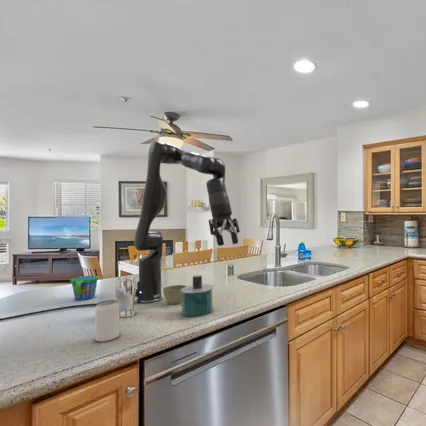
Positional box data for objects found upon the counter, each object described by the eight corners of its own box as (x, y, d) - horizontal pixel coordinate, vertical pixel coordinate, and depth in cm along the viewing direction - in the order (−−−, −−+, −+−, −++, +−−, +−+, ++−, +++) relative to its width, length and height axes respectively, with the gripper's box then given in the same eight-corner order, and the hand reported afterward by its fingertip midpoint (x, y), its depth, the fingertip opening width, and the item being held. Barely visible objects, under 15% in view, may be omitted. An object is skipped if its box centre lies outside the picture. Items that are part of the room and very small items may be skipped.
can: (103, 334, 101) (103, 299, 101) (123, 333, 101) (123, 299, 101) (90, 342, 95) (90, 305, 94) (111, 341, 95) (111, 305, 95)
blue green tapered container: (81, 294, 150) (81, 274, 150) (105, 293, 152) (104, 273, 152) (62, 304, 135) (62, 282, 135) (88, 302, 137) (88, 280, 137)
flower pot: (177, 307, 130) (177, 290, 129) (157, 305, 132) (157, 289, 131) (191, 300, 139) (191, 285, 139) (173, 299, 141) (173, 284, 141)
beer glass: (140, 313, 122) (139, 277, 122) (124, 319, 115) (123, 281, 115) (128, 311, 124) (127, 276, 124) (111, 317, 118) (111, 279, 118)
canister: (182, 318, 115) (182, 294, 115) (182, 309, 126) (182, 287, 126) (213, 314, 120) (213, 291, 120) (211, 305, 131) (210, 284, 131)
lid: (180, 296, 114) (180, 280, 114) (180, 289, 126) (180, 274, 126) (215, 292, 120) (215, 277, 120) (212, 285, 132) (212, 271, 132)
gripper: (224, 208, 124) (232, 245, 122) (199, 206, 111) (208, 248, 109) (238, 203, 122) (247, 241, 119) (214, 200, 108) (224, 243, 106)
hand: (228, 244), depth 114 cm, fingers open, 8 cm apart
